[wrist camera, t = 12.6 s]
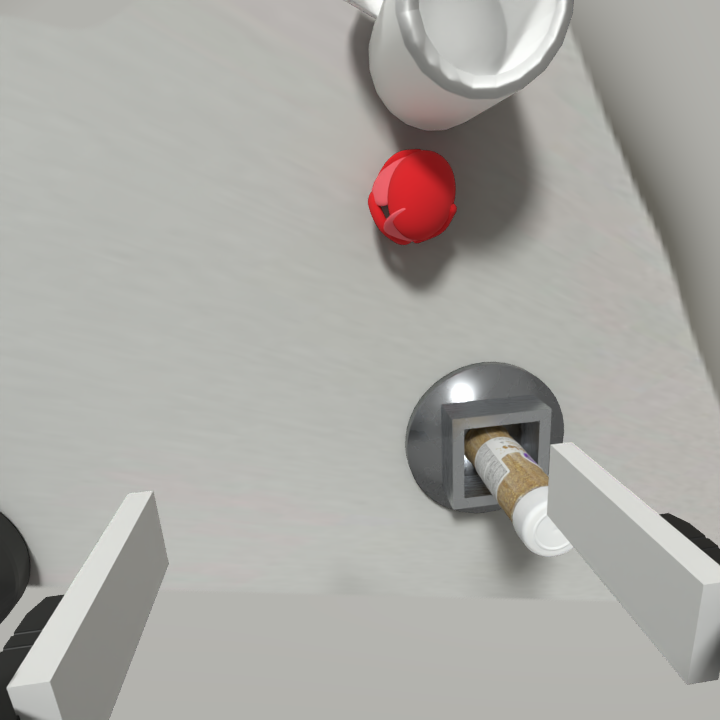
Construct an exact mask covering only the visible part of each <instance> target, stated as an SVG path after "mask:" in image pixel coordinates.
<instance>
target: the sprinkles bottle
mask: <svg viewBox="0 0 720 720" xmlns="http://www.w3.org/2000/svg"><path fill="white" fill-rule="evenodd" d="M464 454H465V456H466V458H467V459H468V460H469V461H470V462H471V463H472V464H473V466H474V467H475V468H476V471H477V473H478V475H479V476H480V478H481V479H482V480H483V482H484V483H485V485H486V486H487V488H488V489H489V491H490V492H491V494H492V495H493V497H494V498H495V500H496V501H497V502H498V504H499V505H500V507H501V508H502V509H503V510H504V511H505V513H506V514H507V516H508V517H509V518H510V520H511V521H512V523H513V526H514V529H515V531H516V533H517V534H518V536H519V537H520V539H521V540H522V542H523V543H524V544H525V546H526V547H527V548H528V549H529V550H530V551H531V552H533V553H535V554H537V555H540V556H544V557H553V556H558V555H562V554H564V553H566V552H568V551H570V550H571V549H573V548H574V547H573V546H572V545H571V543H570V542H569V541H568V540H567V539H566V537H565V536H564V535H563V534H562V532H561V531H560V530H559V529H558V528H557V526H556V525H555V524H554V523H553V522H552V520H551V519H550V518H549V517H548V515H547V501H548V482H549V477H548V476H547V475H546V474H545V473H544V471H543V470H542V468H541V467H540V466H539V465H538V464H537V463H536V462H535V461H534V460H533V459H532V458H531V457H530V456H529V455H528V454H527V452H526V451H525V450H524V449H523V448H522V447H521V446H520V445H519V444H518V443H517V442H516V441H515V440H514V439H513V438H512V437H511V436H510V435H509V433H508V431H507V430H506V428H505V427H503V426H502V425H499V426H490V427H481V428H472V429H470V430H469V431H468V432H467V434H466V436H465V438H464Z"/></svg>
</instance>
